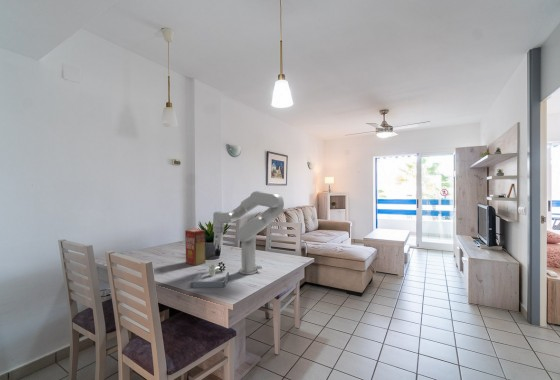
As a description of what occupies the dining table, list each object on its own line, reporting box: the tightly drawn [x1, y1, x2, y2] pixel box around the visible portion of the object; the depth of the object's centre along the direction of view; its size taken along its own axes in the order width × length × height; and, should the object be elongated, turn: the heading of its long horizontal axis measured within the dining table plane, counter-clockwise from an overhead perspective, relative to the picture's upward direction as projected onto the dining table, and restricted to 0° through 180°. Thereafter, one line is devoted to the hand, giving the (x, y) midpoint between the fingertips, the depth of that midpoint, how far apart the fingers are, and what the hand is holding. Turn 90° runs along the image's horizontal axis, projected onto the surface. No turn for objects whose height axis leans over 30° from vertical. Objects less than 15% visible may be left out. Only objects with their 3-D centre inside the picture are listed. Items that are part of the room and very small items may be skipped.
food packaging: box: [184, 228, 206, 267], centre depth 196 cm, size 13×9×25 cm
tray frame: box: [190, 271, 230, 289], centre depth 157 cm, size 19×17×3 cm
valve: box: [208, 261, 227, 277], centre depth 172 cm, size 7×7×12 cm
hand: (217, 255), depth 180 cm, fingers closed
